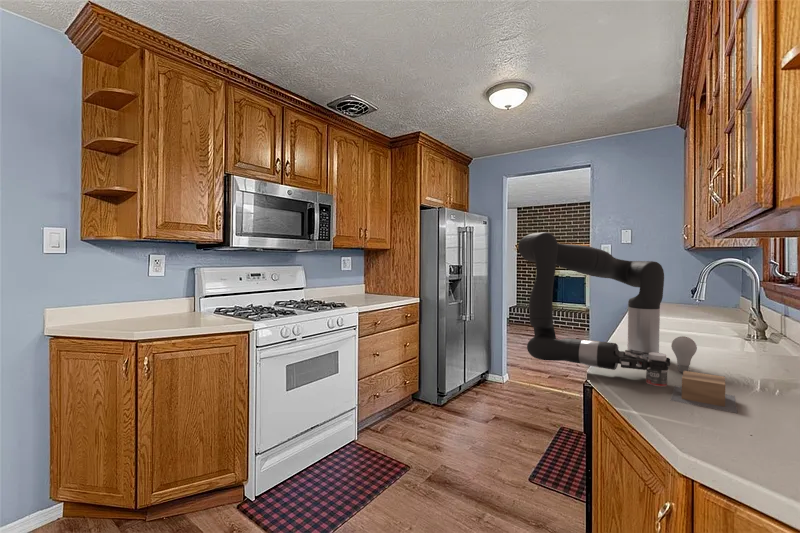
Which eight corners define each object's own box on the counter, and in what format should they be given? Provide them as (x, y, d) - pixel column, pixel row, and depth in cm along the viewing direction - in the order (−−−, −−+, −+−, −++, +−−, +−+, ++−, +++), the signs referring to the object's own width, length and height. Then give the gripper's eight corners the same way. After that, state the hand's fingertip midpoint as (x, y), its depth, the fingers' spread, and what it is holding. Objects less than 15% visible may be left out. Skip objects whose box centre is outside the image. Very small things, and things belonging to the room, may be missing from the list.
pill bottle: (642, 383, 106) (642, 352, 106) (653, 381, 108) (654, 351, 108) (659, 388, 102) (660, 356, 102) (671, 386, 104) (671, 355, 103)
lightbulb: (665, 371, 118) (666, 335, 117) (680, 369, 120) (681, 334, 119) (686, 377, 112) (687, 339, 112) (701, 375, 114) (702, 337, 114)
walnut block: (683, 390, 100) (683, 370, 99) (724, 397, 95) (724, 376, 94) (681, 398, 93) (681, 377, 93) (725, 406, 88) (725, 384, 88)
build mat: (674, 387, 103) (674, 385, 103) (734, 397, 96) (734, 395, 96) (670, 401, 92) (670, 400, 92) (737, 414, 85) (737, 413, 85)
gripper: (592, 345, 108) (666, 355, 97) (604, 337, 119) (671, 345, 109) (592, 372, 108) (666, 385, 98) (603, 362, 119) (671, 372, 109)
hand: (668, 364), depth 103 cm, fingers closed on pill bottle, 4 cm apart
